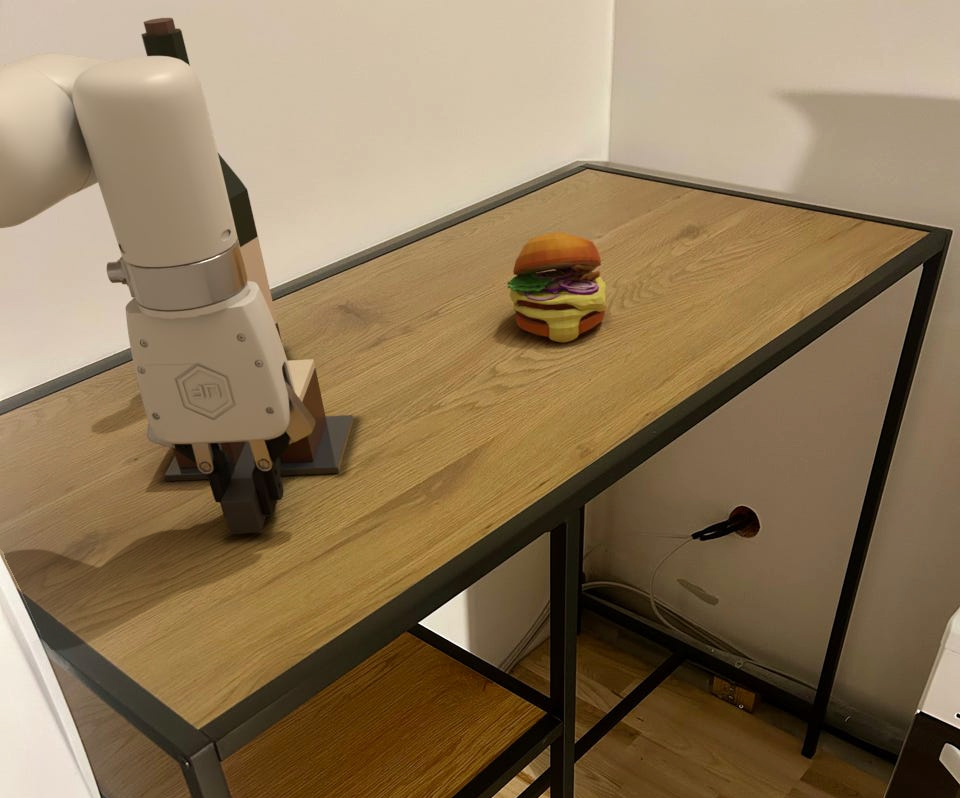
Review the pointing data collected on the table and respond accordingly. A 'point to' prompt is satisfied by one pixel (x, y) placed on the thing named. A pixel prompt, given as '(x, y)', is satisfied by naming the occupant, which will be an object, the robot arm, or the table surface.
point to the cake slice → (312, 399)
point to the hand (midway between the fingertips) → (252, 505)
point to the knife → (244, 496)
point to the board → (323, 463)
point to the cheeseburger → (558, 287)
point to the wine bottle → (171, 43)
